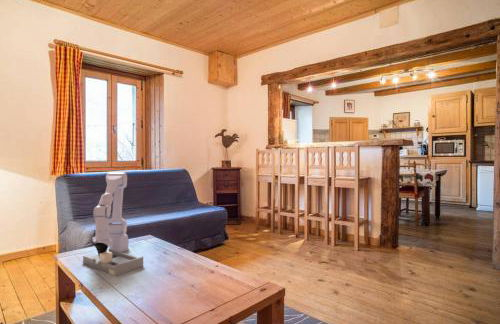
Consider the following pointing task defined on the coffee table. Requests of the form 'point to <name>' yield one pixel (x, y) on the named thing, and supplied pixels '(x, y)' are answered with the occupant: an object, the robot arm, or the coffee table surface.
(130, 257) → the board
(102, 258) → the block
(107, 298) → the coffee table surface
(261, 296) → the coffee table surface
